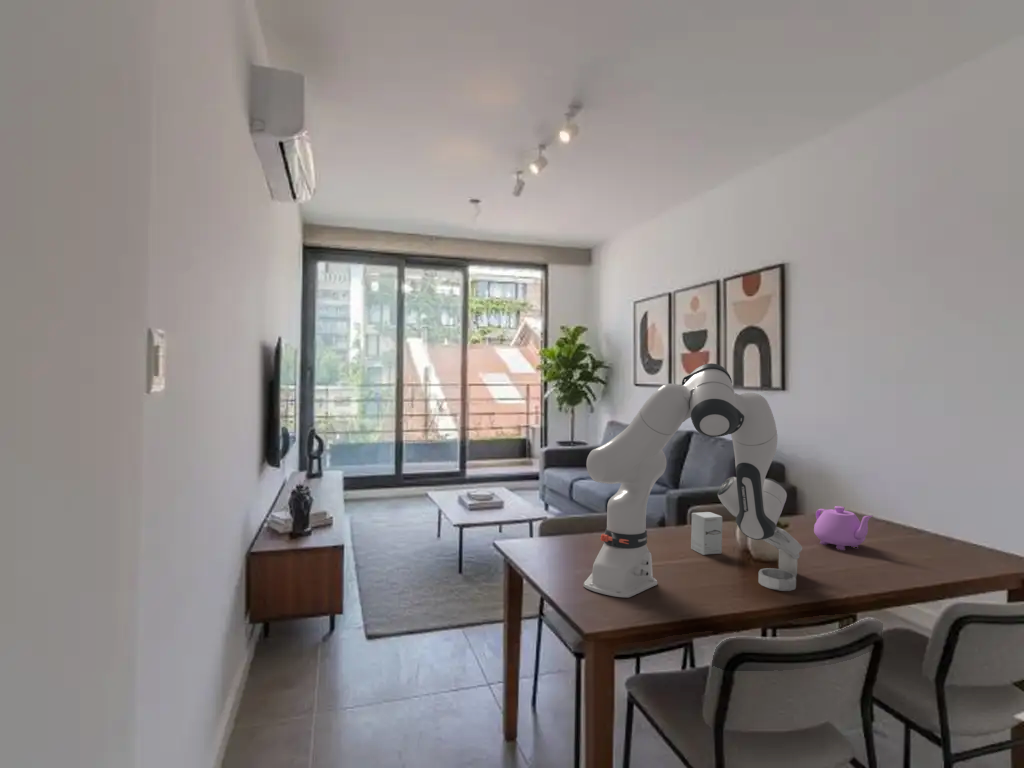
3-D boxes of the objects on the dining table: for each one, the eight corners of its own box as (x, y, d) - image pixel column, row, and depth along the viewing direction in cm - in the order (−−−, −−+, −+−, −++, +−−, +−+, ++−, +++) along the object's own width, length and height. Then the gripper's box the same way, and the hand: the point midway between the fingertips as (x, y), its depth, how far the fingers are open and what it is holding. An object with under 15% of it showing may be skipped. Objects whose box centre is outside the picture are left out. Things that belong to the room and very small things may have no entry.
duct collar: (792, 593, 150) (793, 582, 150) (755, 585, 155) (756, 575, 155) (797, 583, 158) (798, 572, 158) (762, 576, 163) (762, 566, 163)
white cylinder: (795, 577, 162) (796, 543, 162) (777, 573, 165) (777, 540, 165) (798, 572, 166) (798, 539, 166) (780, 569, 169) (780, 536, 169)
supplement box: (703, 555, 182) (703, 517, 182) (690, 548, 189) (690, 512, 189) (722, 553, 184) (723, 516, 184) (709, 547, 191) (709, 511, 191)
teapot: (887, 553, 186) (888, 512, 186) (854, 558, 181) (855, 516, 181) (829, 535, 207) (830, 499, 207) (798, 539, 201) (799, 502, 201)
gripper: (787, 523, 154) (819, 557, 156) (749, 506, 175) (777, 536, 176) (772, 539, 154) (804, 573, 155) (735, 520, 174) (764, 550, 175)
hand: (789, 553), depth 166 cm, fingers open, 5 cm apart
